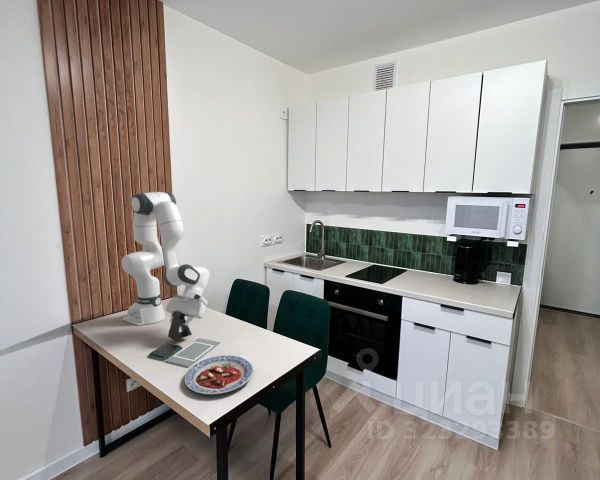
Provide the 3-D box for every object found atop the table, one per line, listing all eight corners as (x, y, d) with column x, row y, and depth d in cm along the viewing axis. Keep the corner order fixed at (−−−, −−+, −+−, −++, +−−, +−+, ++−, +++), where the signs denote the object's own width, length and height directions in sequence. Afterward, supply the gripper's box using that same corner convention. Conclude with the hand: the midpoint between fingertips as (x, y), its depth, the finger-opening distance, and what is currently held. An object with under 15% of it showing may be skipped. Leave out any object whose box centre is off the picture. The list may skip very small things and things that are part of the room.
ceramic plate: (219, 408, 111) (219, 400, 110) (170, 384, 124) (169, 377, 123) (266, 371, 132) (266, 364, 132) (220, 354, 145) (219, 347, 145)
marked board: (165, 361, 139) (165, 360, 139) (199, 339, 159) (198, 337, 159) (188, 367, 135) (188, 366, 134) (219, 343, 155) (219, 341, 155)
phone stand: (173, 341, 152) (172, 316, 150) (167, 336, 156) (166, 313, 154) (191, 334, 159) (190, 311, 156) (185, 330, 163) (184, 307, 160)
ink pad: (148, 356, 143) (147, 353, 143) (166, 345, 153) (166, 342, 153) (164, 360, 140) (164, 357, 139) (182, 348, 150) (182, 345, 150)
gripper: (170, 291, 164) (157, 317, 157) (204, 297, 157) (192, 324, 150) (177, 297, 169) (164, 322, 162) (210, 303, 162) (198, 329, 155)
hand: (178, 323), depth 156 cm, fingers closed on phone stand, 6 cm apart
